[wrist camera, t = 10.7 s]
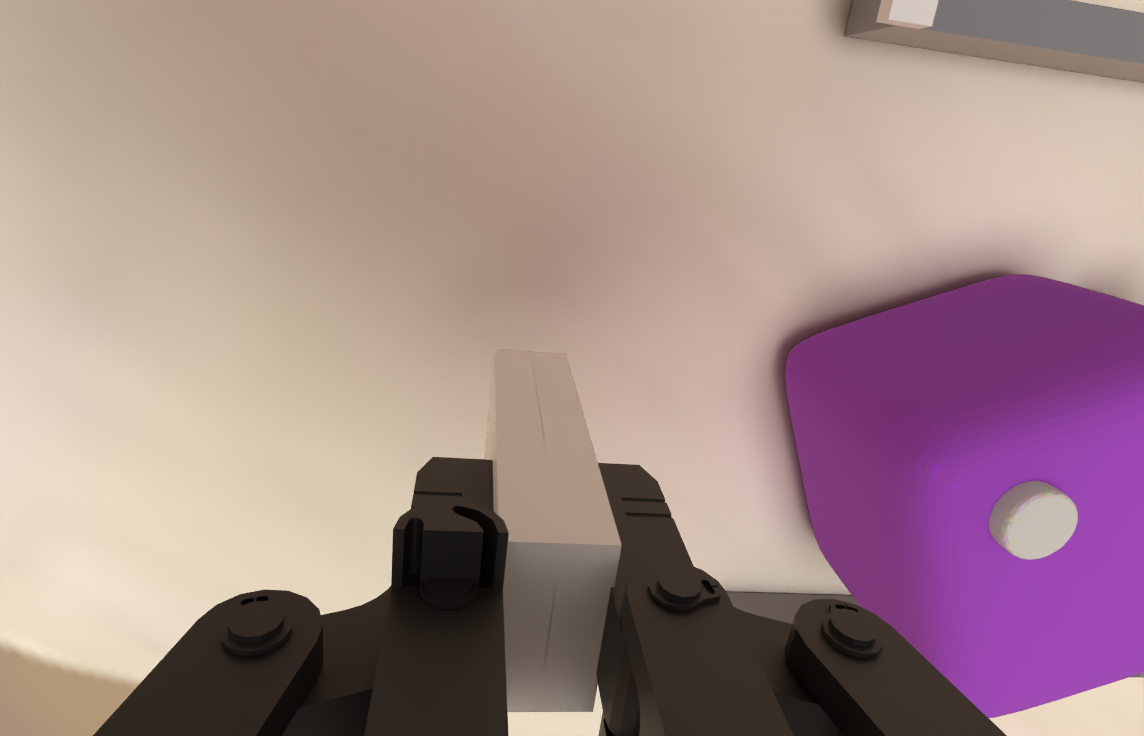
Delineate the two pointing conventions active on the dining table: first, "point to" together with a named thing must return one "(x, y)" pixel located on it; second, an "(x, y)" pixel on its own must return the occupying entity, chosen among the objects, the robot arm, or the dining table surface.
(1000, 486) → the toy camera
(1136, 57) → the gray bracket frame
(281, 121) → the dining table surface
